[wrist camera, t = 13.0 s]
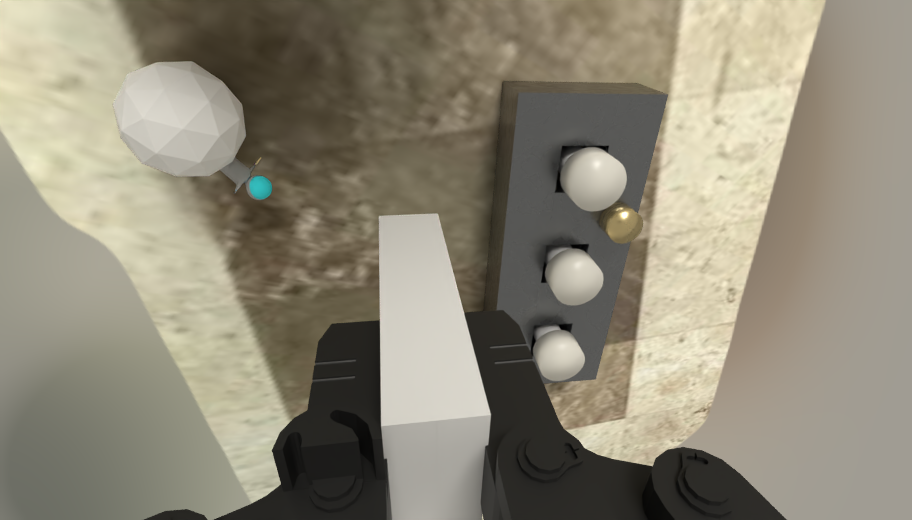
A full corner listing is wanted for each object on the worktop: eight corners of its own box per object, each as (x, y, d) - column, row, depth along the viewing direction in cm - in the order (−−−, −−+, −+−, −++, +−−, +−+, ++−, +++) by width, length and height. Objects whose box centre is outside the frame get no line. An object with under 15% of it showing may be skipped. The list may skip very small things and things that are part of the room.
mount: (502, 81, 39) (518, 92, 34) (637, 83, 40) (668, 94, 36) (479, 356, 54) (488, 388, 49) (578, 349, 55) (595, 379, 51)
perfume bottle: (188, 14, 30) (323, 148, 37) (143, 63, 35) (269, 172, 42) (105, 87, 26) (274, 222, 33) (68, 130, 31) (221, 239, 38)
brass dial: (602, 202, 40) (612, 212, 38) (635, 201, 41) (646, 211, 39) (596, 233, 42) (605, 244, 40) (627, 232, 42) (638, 242, 40)
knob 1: (520, 298, 50) (543, 347, 43) (560, 296, 50) (588, 344, 44) (516, 331, 52) (537, 382, 45) (554, 328, 52) (580, 379, 46)
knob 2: (542, 128, 41) (576, 156, 34) (590, 128, 41) (632, 156, 35) (536, 176, 43) (566, 212, 36) (581, 176, 43) (619, 210, 37)
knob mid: (530, 222, 45) (557, 263, 38) (573, 221, 46) (608, 261, 39) (525, 261, 47) (550, 306, 41) (566, 259, 48) (598, 304, 41)
